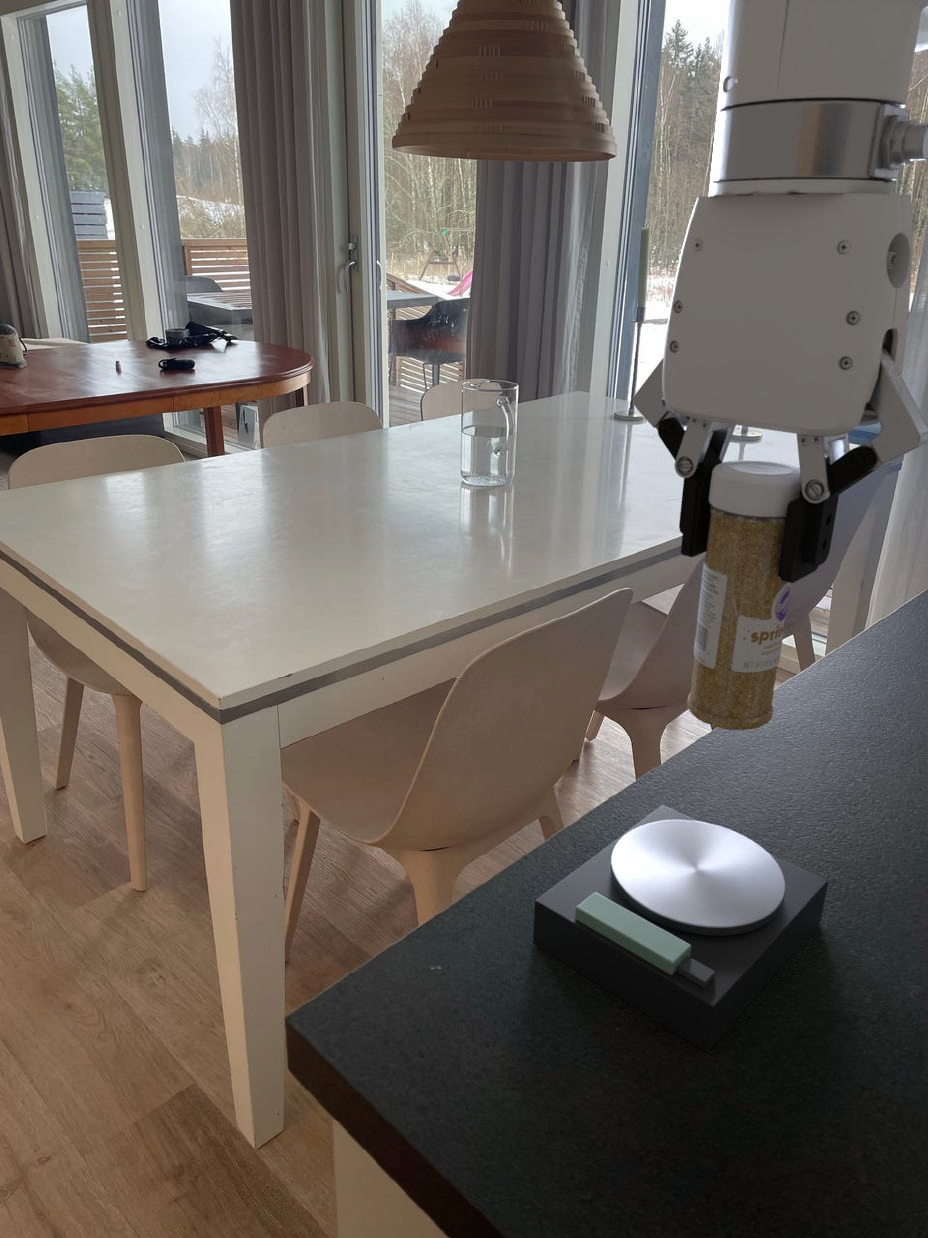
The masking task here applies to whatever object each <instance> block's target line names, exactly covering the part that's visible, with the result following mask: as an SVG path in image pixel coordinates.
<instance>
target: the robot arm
mask: <svg viewBox="0 0 928 1238" xmlns="http://www.w3.org/2000/svg"><path fill="white" fill-rule="evenodd" d="M924 50H925V51H926V50H928V0H727V8H726V20H725V30H724V38H723V49H722V59H721V67H720V68H721V70H720V79H719V90H718V98H717V109H716V112H717V114H716V122H715V131H714V140H713V141H714V142H713V151H712V161H711V169H710V170H711V171H710V181H709V182H710V183H709V189H708V196H697V197H696V200H695V203H694V206H693V209H692V213H691V215H690V218H689V222H688V225H687V229H686V233H685V237H684V240H683V243H682V246H681V247H682V248H681V251H680V256H679V261H678V265H677V270H676V274H675V278H674V284H673V289H672V295H671V300H670V307H669V314H668V319H667V324H666V334H665V340H664V341H665V342H664V347H663V357H662V358H661V360H660V361H659V363H657V365H656V366H655V368H654V369H653V370H652V372H650V374H649V376H648V377H647V378H646V380H645V381H644V382H643V384H642V385H641V386H640V387H639V389H638V390H637V391H636V393H635V394H634V396H633V406H634V407H635V408H636V410H637V411H638V412H639V413H640V414H641V416H643V418H644V419H645V420H646V421H647V422H648V423H649V425H650V426H652V428H653V429H656V431H657V435H658V437H659V438H660V440H661V442H662V444H663V445H664V446H665V448H666V449H667V450H668V452H669V454H670V455H671V457H672V458H673V459H674V470H675V473H676V474H677V475H678V476H679V477H680V478H683V485H682V493H681V503H680V514H679V523H678V528H679V532H680V533H681V534H682V536H681V545H680V553H681V555H682V556H684V557H688V558H694V557H697V556H699V555H702V554H704V553H706V551H707V542H708V534H709V526H710V518H711V512H710V510H711V508H710V507H711V504H710V502H709V492H710V483H711V477H712V471H713V469H714V467H715V466H716V465H718V464H720V463H723V461H724V460H725V459H724V458H725V457H726V454H727V451H728V447H729V445H730V442H731V439H732V437H733V434H734V431H735V429H736V426H741V427H748V428H754V429H761V430H768V431H774V432H781V433H787V434H796V442H797V443H796V444H797V454H798V464H799V468H800V476H801V490H800V496H799V498H797V499H795V500H792V501H790V503H789V504H788V508H787V514H786V521H785V528H784V535H783V542H782V549H781V555H780V562H779V569H778V577H781V580H782V581H786V582H789V583H790V584H794V583H796V582H798V581H800V580H802V579H803V578H806V577H807V576H809V575H810V574H812V573H814V572H816V571H817V570H818V568H819V566H822V565H823V564H824V563H825V562H826V561H827V559H828V557H829V555H830V550H831V546H832V541H833V540H832V539H833V534H834V528H835V522H836V517H837V510H838V504H839V498H840V495H841V494H843V493H845V492H847V491H849V489H851V487H853V486H854V485H856V484H857V483H859V482H860V481H861V480H864V479H865V478H866V477H867V476H869V475H870V474H872V473H874V472H875V471H876V470H878V469H879V468H880V467H882V466H884V465H886V464H888V463H890V462H893V461H894V460H896V459H898V458H900V457H902V456H904V455H906V454H908V453H910V452H912V451H914V450H916V449H918V448H920V447H922V446H924V445H926V443H928V425H927V423H926V421H925V419H924V417H923V415H922V412H921V411H920V409H919V407H918V405H917V403H916V402H915V399H914V398H913V396H912V394H911V392H910V390H909V388H908V386H907V385H906V383H905V380H904V378H903V376H902V375H903V370H904V369H903V368H904V363H905V362H904V361H905V353H906V345H907V344H906V343H907V334H908V323H909V315H910V314H909V313H910V303H911V302H910V301H911V289H912V288H911V287H912V272H913V271H912V268H913V238H914V236H913V232H914V231H913V230H914V229H913V225H914V224H913V201H912V195H910V194H909V195H908V194H894V193H892V190H893V189H892V188H893V181H897V180H898V181H899V178H900V177H899V176H900V171H901V169H902V166H903V165H909V164H910V163H911V162H912V161H927V160H928V122H927V121H926V122H917V121H916V120H914V119H910V113H911V112H910V111H911V110H910V109H907V108H906V105H907V99H908V94H909V88H910V82H911V77H912V76H911V75H912V70H913V63H914V58H915V53H918V52H921V51H924ZM877 424H880V431H879V433H877V435H876V436H874V437H873V438H871V439H869V440H867V441H865V442H864V443H862V444H860V445H858V446H856V447H854V448H852V449H850V448H851V447H850V435H849V433H850V432H852V431H854V430H856V429H857V427H866V426H873V425H877Z"/></svg>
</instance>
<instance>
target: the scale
mask: <svg viewBox="0 0 928 1238" xmlns="http://www.w3.org/2000/svg"><path fill="white" fill-rule="evenodd" d="M666 820H690V821H698V820H696V819H694V818H692V817H690V816H688V815H686V814H684V813H682V812H679V811H677V810H675V809H673V808H670V807H668V806H666V805H663V804H662V805H660V806H659V807H657V808H656V809H655V810H654V811H652V812H651V813H649V814H648V815H647V816H646V817H645V818H643V819H641V820H640V821H638V823H636V824H635V825H633V826H632V827H631V828H630V829H628V830H627V831H626V832H624V833H623V834H622V835H620V836H619V837H618V838H617V839H615V840H614V841H612V842H611V843H609V844H608V845H607V846H606V847H605V848H603V849H601V850H600V851H599V852H598V853H596V854H595V855H594V856H592V857H591V858H590V859H588V860H587V861H586V862H584V863H583V864H581V865H580V866H578V868H576V869H575V870H574V871H572V872H571V873H570V874H568V875H567V876H566V877H564V878H563V879H561V881H559V882H557V883H556V884H555V885H554V886H553V887H551V888H550V889H548V890H547V891H546V892H544V893H543V894H542V895H541V896H539V897H538V898H536V899H535V900H534V910H533V911H534V913H533V915H534V916H533V931H532V933H533V935H532V938H533V939H532V943H533V944H534V945H535V946H536V947H538V948H539V949H542V950H543V951H545V952H546V953H547V954H549V955H550V956H552V957H554V958H555V959H557V960H559V961H561V962H562V963H564V964H565V965H567V966H568V967H570V968H571V969H573V970H575V971H576V972H578V973H579V974H581V975H583V976H584V977H586V978H587V979H589V980H590V981H592V982H594V983H596V984H597V985H599V986H600V987H602V988H603V989H605V990H607V991H608V992H610V993H611V994H613V995H614V996H616V997H617V998H619V999H621V1000H622V1001H623V1002H625V1003H627V1004H628V1005H630V1006H632V1007H633V1008H635V1009H636V1010H638V1011H640V1012H641V1013H643V1014H644V1015H646V1016H648V1017H649V1018H651V1019H653V1021H656V1022H657V1023H659V1024H660V1025H662V1026H663V1027H665V1028H667V1029H669V1030H670V1031H672V1032H673V1033H675V1034H676V1035H677V1036H680V1037H681V1038H682V1039H684V1040H686V1041H687V1042H689V1043H691V1044H692V1045H694V1046H695V1047H697V1048H698V1049H699V1050H701V1051H703V1052H705V1053H708V1052H710V1050H712V1048H713V1047H714V1046H715V1045H716V1044H717V1042H718V1041H719V1040H720V1039H721V1038H722V1036H723V1035H724V1034H725V1033H726V1032H727V1031H728V1029H729V1028H730V1027H731V1026H732V1025H733V1024H734V1022H735V1021H736V1020H737V1019H738V1018H739V1017H740V1016H741V1014H742V1013H743V1012H744V1011H745V1010H746V1009H747V1008H748V1007H749V1005H750V1004H751V1003H752V1002H753V1001H754V999H756V997H757V996H758V995H759V994H760V993H761V992H762V990H763V989H764V988H765V987H766V985H767V984H768V983H769V982H770V981H771V980H772V979H773V978H774V977H775V975H776V974H777V973H778V972H779V971H780V970H781V968H782V967H783V966H784V965H785V963H787V961H788V960H789V959H790V958H791V957H792V956H793V954H795V952H796V951H797V950H798V949H799V948H800V947H801V945H802V944H803V943H804V942H805V941H806V939H807V938H808V937H809V936H810V935H811V934H812V933H813V931H814V930H815V929H816V928H817V927H818V926H819V925H820V923H821V922H822V916H823V912H824V905H825V902H826V901H825V900H826V895H827V891H828V885H829V880H828V879H826V878H824V877H822V876H819V875H817V874H815V873H813V872H810V871H808V870H806V869H803V868H801V867H800V866H797V865H795V864H793V863H791V862H789V861H787V860H784V859H782V858H780V857H778V856H775V855H773V854H771V853H769V854H770V855H771V856H772V857H773V858H774V860H775V861H776V862H777V864H778V865H779V867H780V868H781V870H782V873H783V875H784V879H785V883H786V891H785V897H784V901H783V905H782V907H781V909H780V911H779V912H778V913H777V915H776V916H775V917H774V918H773V919H772V920H771V921H769V922H768V923H766V924H765V925H763V926H762V927H759V928H757V929H755V930H752V931H749V932H745V933H741V934H735V935H724V936H712V935H701V934H694V933H689V932H684V931H680V930H677V929H673V928H670V927H668V926H665V925H663V924H660V923H658V922H656V921H654V920H652V919H650V918H648V917H647V916H645V915H643V914H642V913H640V912H639V911H637V910H636V909H635V908H634V907H632V906H631V905H630V904H629V903H628V902H627V901H626V900H625V899H624V898H623V897H622V895H621V894H620V893H619V891H618V890H617V888H616V886H615V884H614V882H613V879H612V876H611V857H612V853H613V850H614V848H615V846H616V844H617V843H618V842H619V840H620V839H621V838H622V837H623V836H624V835H626V834H627V833H628V832H630V831H632V830H633V829H635V828H638V827H640V826H643V825H646V824H649V823H653V822H658V821H666Z"/></svg>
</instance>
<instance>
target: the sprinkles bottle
mask: <svg viewBox="0 0 928 1238" xmlns="http://www.w3.org/2000/svg"><path fill="white" fill-rule="evenodd" d="M800 490H801V476H800V467H797V466H795V465H791V464H787V463H782V462H776V461H768V460H755V459H740V460H739V459H738V460H737V459H736V460H729V461H724V462H722V463H720V464H718V465H716V466H715V467H714V469H713V471H712V477H711V483H710V492H709V502H710V504H711V507H710V508H711V510H710V512H711V518H710V526H709V534H708V542H707V551H706V552H705V559H704V560H703V567H702V575H701V585H700V586H701V587H700V592H699V593H700V594H699V600H698V609H697V617H696V618H697V620H696V628H695V636H694V645H693V655H694V661H693V672H692V680H691V688H690V693H689V694H688V697H687V701H686V704H687V705H686V706H687V709H688V710H689V711H688V712H690V713H691V715H692V716H694V717H695V718H696V719H697V720H699V721H701V722H702V723H704V724H707V725H710V726H712V727H714V728H720V729H723V730H729V731H745V730H755V729H758V728H760V727H762V726H764V725H767V724H768V723H769V722H770V721H771V720H772V718H773V714H774V706H773V699H774V689H775V684H776V679H777V671H778V665H779V663H780V660H781V654H782V646H783V639H784V633H785V625H786V620H787V619H786V618H787V611H788V605H789V597H790V591H791V584H792V583H789V582H786V581H782V580H781V577H778V569H779V562H780V555H781V549H782V542H783V535H784V528H785V521H786V514H787V508H788V504H789V503H790V501H792V500H795V499H797V498H799V496H800Z"/></svg>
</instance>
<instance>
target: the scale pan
mask: <svg viewBox="0 0 928 1238" xmlns="http://www.w3.org/2000/svg"><path fill="white" fill-rule="evenodd" d="M770 854H771V853H769V852H768V851H767V850H766V849H765V848H763V846H761V845H759V843H757V842H756V841H754V840H752V839H751V838H749V837H747V836H745V835H743V834H741V833H739V832H737V831H735V830H732V829H729V828H727V827H724V826H721V825H717V824H714V823H709V822H703V821H699V820H697V821H690V820H666V821H658V822H653V823H649V824H646V825H643V826H640V827H638V828H635V829H633V830H632V831H630V832H628V833H627V834H626V835H624V836H623V837H622V838H621V839H620V840H619V842H618V843H617V844H616V846H615V848H614V850H613V853H612V857H611V876H612V879H613V882H614V884H615V886H616V888H617V890H618V891H619V893H620V894H621V895H622V897H623V898H624V899H625V900H626V901H627V902H628V903H629V904H630V905H631V906H632V907H634V908H635V909H636V910H637V911H639V912H640V913H642V914H643V915H645V916H647V917H648V918H650V919H652V920H654V921H656V922H658V923H660V924H663V925H665V926H668V927H670V928H673V929H677V930H680V931H684V932H689V933H694V934H701V935H712V936H724V935H735V934H741V933H745V932H749V931H752V930H755V929H757V928H759V927H762V926H763V925H765V924H766V923H768V922H769V921H771V920H772V919H773V918H774V917H775V916H776V915H777V913H778V912H779V911H780V909H781V907H782V905H783V901H784V897H785V891H786V883H785V879H784V875H783V873H782V870H781V868H780V867H779V865H778V864H777V862H776V861H775V860H774V858H773V857H772V856H771V855H772V854H771V855H770Z"/></svg>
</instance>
